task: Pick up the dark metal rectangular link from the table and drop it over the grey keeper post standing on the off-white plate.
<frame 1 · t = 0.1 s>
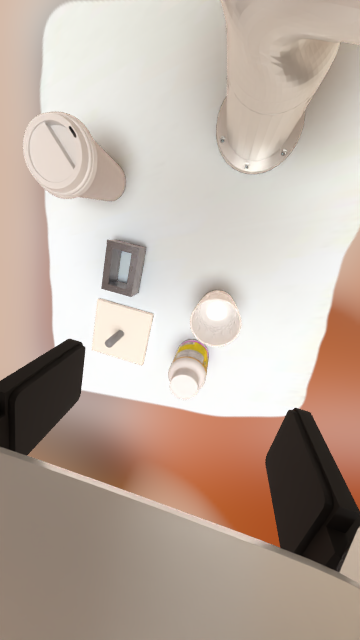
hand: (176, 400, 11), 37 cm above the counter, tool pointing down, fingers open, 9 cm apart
link: (128, 266, 47), on the counter
supplement bottle: (193, 352, 51), on the counter
coffee cup: (109, 181, 43), on the counter
keeper: (122, 331, 52), on the counter
white cup: (217, 306, 47), on the counter
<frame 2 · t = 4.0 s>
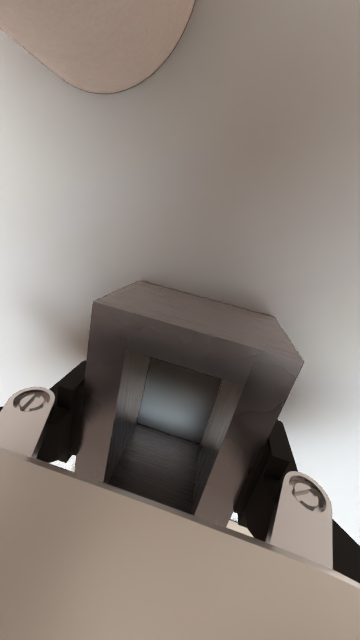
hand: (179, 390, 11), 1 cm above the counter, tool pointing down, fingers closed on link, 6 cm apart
link: (181, 384, 12), on the counter, touching gripper
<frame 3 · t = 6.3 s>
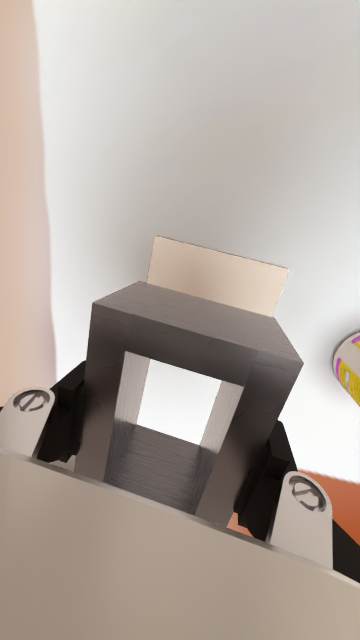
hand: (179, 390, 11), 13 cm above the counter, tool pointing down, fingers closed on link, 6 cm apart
link: (181, 384, 12), point 13 cm above the counter, touching gripper
keeper: (203, 313, 24), on the counter
when the fingers open (3 cm above the counter, at t = 8.9 s): link drops 2 cm, resting on keeper.
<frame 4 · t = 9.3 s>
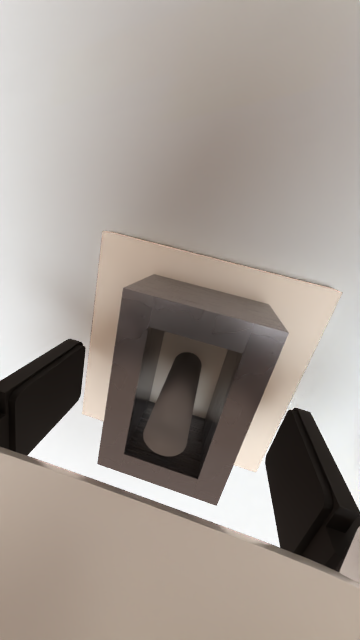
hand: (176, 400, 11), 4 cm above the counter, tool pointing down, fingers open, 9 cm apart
link: (189, 364, 14), point 1 cm above the counter, touching keeper
keeper: (189, 356, 15), on the counter
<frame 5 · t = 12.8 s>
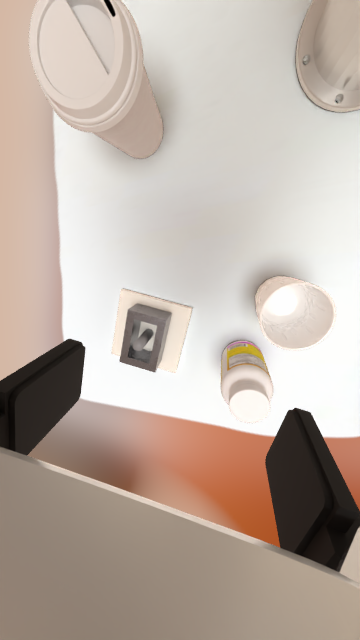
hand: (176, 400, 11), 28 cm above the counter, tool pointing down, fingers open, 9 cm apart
link: (149, 332, 40), point 1 cm above the counter, touching keeper
supplement bottle: (241, 356, 40), on the counter
coffee cup: (140, 131, 33), on the counter
keeper: (150, 330, 41), on the counter
white cup: (277, 297, 36), on the counter
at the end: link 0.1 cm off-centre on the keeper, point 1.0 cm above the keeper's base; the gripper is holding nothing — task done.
